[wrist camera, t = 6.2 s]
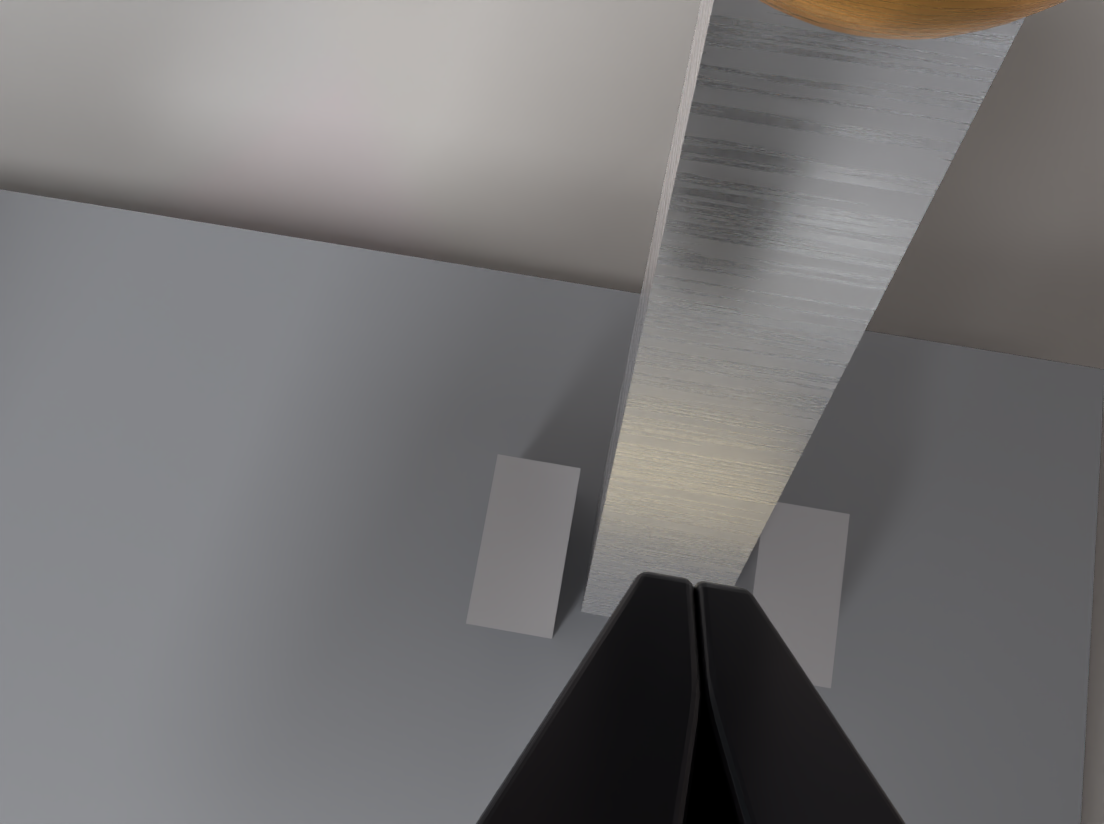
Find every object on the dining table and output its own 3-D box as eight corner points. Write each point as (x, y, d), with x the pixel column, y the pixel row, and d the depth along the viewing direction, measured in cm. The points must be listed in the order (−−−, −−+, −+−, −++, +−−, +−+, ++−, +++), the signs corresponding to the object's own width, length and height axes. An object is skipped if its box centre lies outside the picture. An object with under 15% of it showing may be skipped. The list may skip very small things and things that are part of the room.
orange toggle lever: (771, 709, 12) (1903, -743, 2) (506, 662, 12) (606, -895, 3) (779, 480, 14) (1445, -861, 4) (548, 441, 14) (700, -944, 4)
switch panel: (971, 1649, 12) (1135, 2048, 9) (-1016, 1222, 13) (-1567, 1429, 10) (1053, 394, 16) (1194, 326, 12) (-528, 134, 17) (-810, 4, 13)
